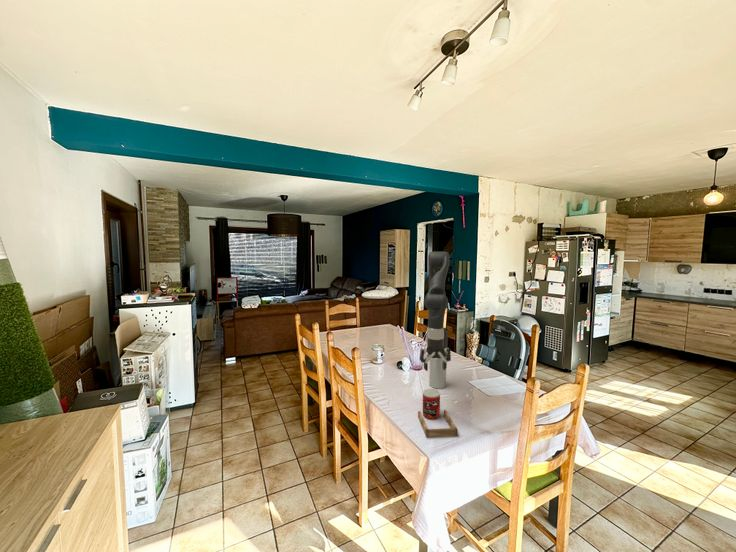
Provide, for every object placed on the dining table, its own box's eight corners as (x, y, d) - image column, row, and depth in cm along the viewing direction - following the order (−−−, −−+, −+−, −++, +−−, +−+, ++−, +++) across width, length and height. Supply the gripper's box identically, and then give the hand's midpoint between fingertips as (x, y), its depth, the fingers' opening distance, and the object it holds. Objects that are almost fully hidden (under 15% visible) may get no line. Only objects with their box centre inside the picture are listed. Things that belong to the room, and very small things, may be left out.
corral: (418, 417, 140) (418, 411, 140) (445, 416, 141) (445, 410, 141) (426, 437, 125) (426, 430, 125) (457, 436, 126) (457, 429, 126)
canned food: (419, 416, 141) (420, 393, 140) (426, 409, 148) (427, 387, 147) (435, 421, 137) (436, 398, 136) (442, 413, 143) (442, 391, 142)
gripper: (447, 333, 147) (446, 366, 149) (418, 334, 146) (418, 367, 148) (453, 338, 140) (452, 372, 142) (422, 339, 139) (422, 373, 141)
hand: (435, 369), depth 145 cm, fingers open, 8 cm apart
